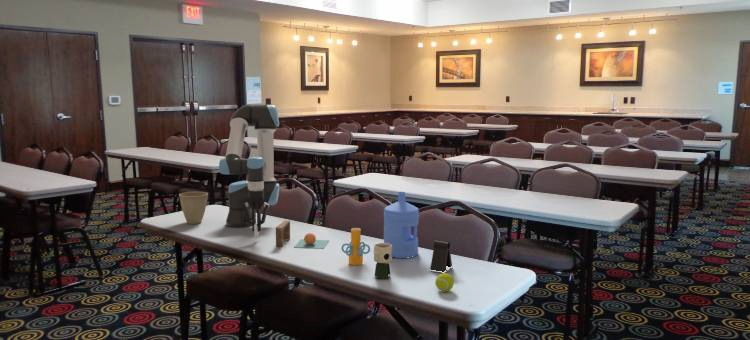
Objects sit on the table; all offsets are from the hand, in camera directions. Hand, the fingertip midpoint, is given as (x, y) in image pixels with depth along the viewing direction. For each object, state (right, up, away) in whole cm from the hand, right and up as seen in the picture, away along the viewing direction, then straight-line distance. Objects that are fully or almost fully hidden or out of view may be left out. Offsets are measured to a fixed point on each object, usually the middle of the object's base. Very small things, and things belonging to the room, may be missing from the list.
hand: (256, 237), depth 269 cm
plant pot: (-42, +4, +38) cm, 57 cm away
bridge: (+13, -2, -1) cm, 13 cm away
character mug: (+60, -10, -49) cm, 78 cm away
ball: (+26, 0, -4) cm, 26 cm away
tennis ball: (+82, -12, -63) cm, 105 cm away
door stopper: (+84, -9, -39) cm, 93 cm away
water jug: (+68, -5, -17) cm, 71 cm away
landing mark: (+27, -3, -3) cm, 27 cm away
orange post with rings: (+49, -7, -32) cm, 59 cm away
